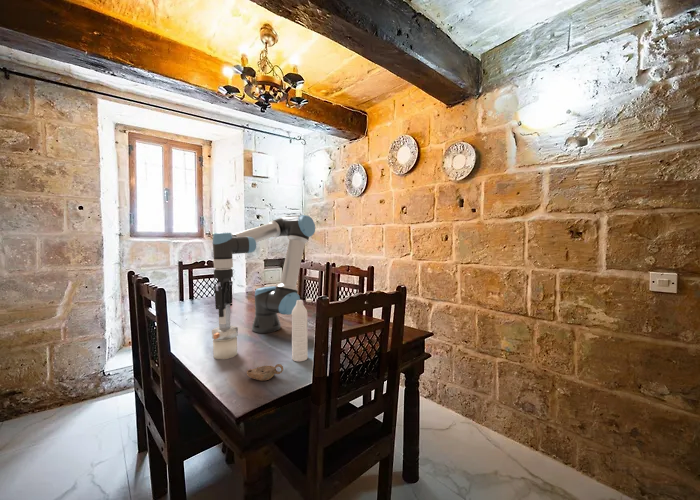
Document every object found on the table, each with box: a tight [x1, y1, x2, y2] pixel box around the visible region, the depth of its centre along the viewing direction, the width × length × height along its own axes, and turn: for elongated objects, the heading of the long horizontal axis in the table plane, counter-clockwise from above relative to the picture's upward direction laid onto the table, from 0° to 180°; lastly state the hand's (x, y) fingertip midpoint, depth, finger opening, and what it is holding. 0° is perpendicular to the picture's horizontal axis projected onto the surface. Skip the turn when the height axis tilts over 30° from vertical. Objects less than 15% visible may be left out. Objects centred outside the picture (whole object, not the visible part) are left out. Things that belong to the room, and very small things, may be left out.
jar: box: [212, 336, 238, 360], centre depth 133 cm, size 10×10×8 cm
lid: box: [211, 303, 239, 340], centre depth 132 cm, size 12×10×14 cm
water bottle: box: [291, 298, 313, 363], centre depth 129 cm, size 9×6×25 cm
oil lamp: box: [246, 363, 284, 381], centre depth 113 cm, size 13×8×5 cm, turn 90°
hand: (224, 322), depth 133 cm, fingers open, 4 cm apart
